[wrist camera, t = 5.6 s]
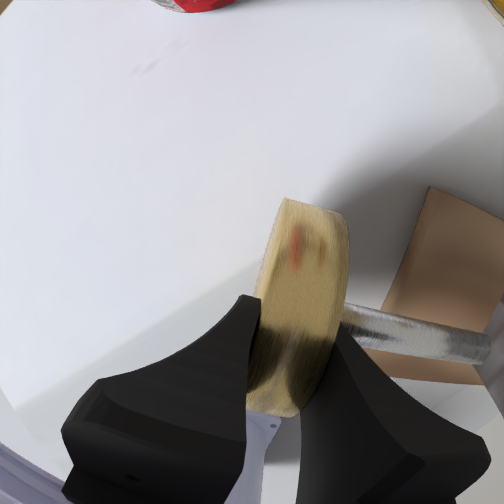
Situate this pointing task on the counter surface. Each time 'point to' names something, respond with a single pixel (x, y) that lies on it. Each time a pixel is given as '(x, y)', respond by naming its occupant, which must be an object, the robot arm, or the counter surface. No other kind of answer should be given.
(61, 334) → the counter surface
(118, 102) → the counter surface
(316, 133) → the counter surface
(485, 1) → the condiment
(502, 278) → the block
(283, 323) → the gold disc-headed rod
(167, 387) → the robot arm
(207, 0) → the soda can
